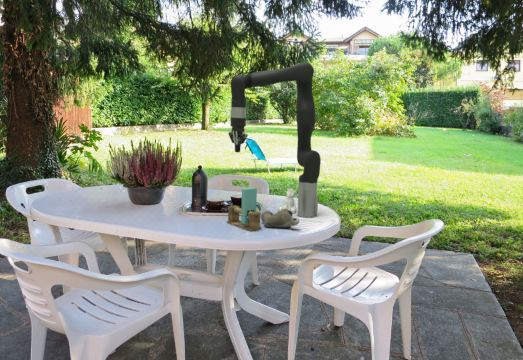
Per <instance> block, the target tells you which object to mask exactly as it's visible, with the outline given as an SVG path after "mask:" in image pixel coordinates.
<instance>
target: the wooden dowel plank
mask: <svg viewBox="0 0 523 360" xmlns="http://www.w3.org/2000/svg"><path fill="white" fill-rule="evenodd" d="M227 208H228V209H227V210H228V214H227V221H226V224H229V225H232V226H235V227H236V228H237V227H238V228H239V229H242V230H244V231H248V232H251V233H252V232H256V231H260V230H262V227H261V212H259V211H256V212H252V211H251V210H248V211H247V217H249V223H248V224H243V223H241V219H240V215H241V210H242V207H240V206H239V205H235V204H234V205H230V206H228V207H227Z"/></svg>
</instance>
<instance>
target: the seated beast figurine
mask: <svg viewBox="0 0 523 360" xmlns="http://www.w3.org/2000/svg"><path fill="white" fill-rule="evenodd" d="M297 194H298V191H295V190H294V189H292V188H287V190H286V196H287V197H285V200H284V205H282V206H279V207H278V208H277V212H279V211H281V210H283V209H288V210H289V211H292V215H294V214H295V213H296V207H297V206H296V204H295V199H294V197H295V195H297Z"/></svg>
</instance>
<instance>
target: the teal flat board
mask: <svg viewBox="0 0 523 360" xmlns="http://www.w3.org/2000/svg"><path fill="white" fill-rule="evenodd" d="M257 192H258V188H257V187H255V186H254V187H246V188H245V187H243V188H241V209H242V210H241V214H240V217H241V219H240V221H241V223H243V224H248V223H249V217H247V211H248V210H249V211H252V212H257V199H258V198H257V196H258V193H257Z"/></svg>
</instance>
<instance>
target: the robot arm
mask: <svg viewBox="0 0 523 360" xmlns="http://www.w3.org/2000/svg"><path fill="white" fill-rule="evenodd" d="M314 73H315V69H314V67H313V65H312V64H311V63H309V62H308V61H302V62H299V63H297V64H295V65H291V66H287V67H283V68H278V69H276V68H275V69H267V70H261V71H255V72H252V73H246V74H234V75H233V76H232V77H231V80H230V94H231V103H230V107H231V108H230V127H231V131H230V132H228V133H227V134H228V136H229V139H230V141H231V143H232V144H234V152H235V153H241V146H242V144H244V143H245V141H246V139H247V138H248V136H249V135H248V134H247V133H246V132H245V127H246V126H247V125H246V123H247V108H246V106H247V105H246V104H247V103H246V102H247V101H246V100H247V99H246V90H247V89H251V88H258V87H265V86H270V85H271V86H272V85H275V84H278V83H279V84H280V83H285V82H296V92H297V93H296V105H295V108H296V109H295V110H296V112H295V114H296V115H295V116H296V128H297V130H296V131H297V133H296V134H297V148H296V149H297V150H296V160H297V163H298V165H299V166H300V167H302V168H303V172H302V174H301V175H299V176H298V191H297V194H298V195H297V209H296V210H297V214H296V215H297V216H299V217H302V218H314V217H318V208H319V207H318V206H319V205H318V204H319V197H318V196H317V195H318V179H319V177H320V174H321V173H320V171H321V159H322V158H321V155H320V153H319V152H318V151H316V150H314V149H312V136H313V135H312V134H313V132H314V129H315V127H316V120H317V119H316V106H315V100H314V94H313V78H314Z"/></svg>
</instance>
